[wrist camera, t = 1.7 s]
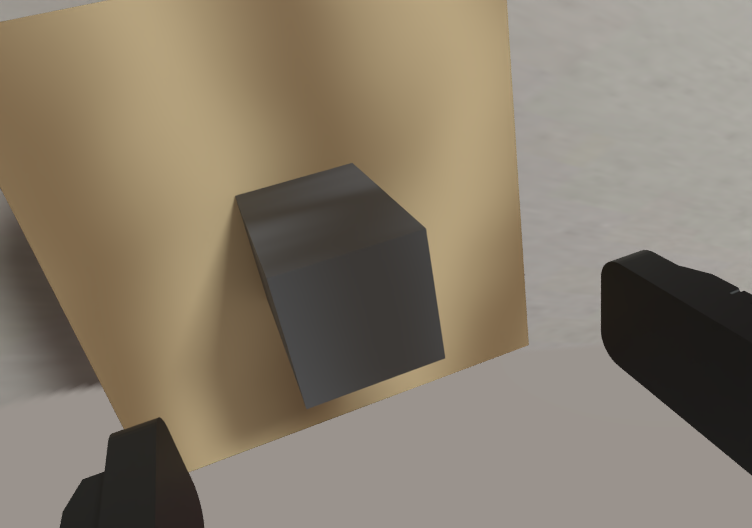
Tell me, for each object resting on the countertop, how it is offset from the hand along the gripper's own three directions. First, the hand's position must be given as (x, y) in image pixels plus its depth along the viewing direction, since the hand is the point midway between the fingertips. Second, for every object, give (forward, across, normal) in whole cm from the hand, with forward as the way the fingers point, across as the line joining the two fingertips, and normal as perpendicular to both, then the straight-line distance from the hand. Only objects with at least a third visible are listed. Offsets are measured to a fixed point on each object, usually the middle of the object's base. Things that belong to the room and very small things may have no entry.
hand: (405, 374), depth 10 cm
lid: (+8, 0, 0) cm, 8 cm away
